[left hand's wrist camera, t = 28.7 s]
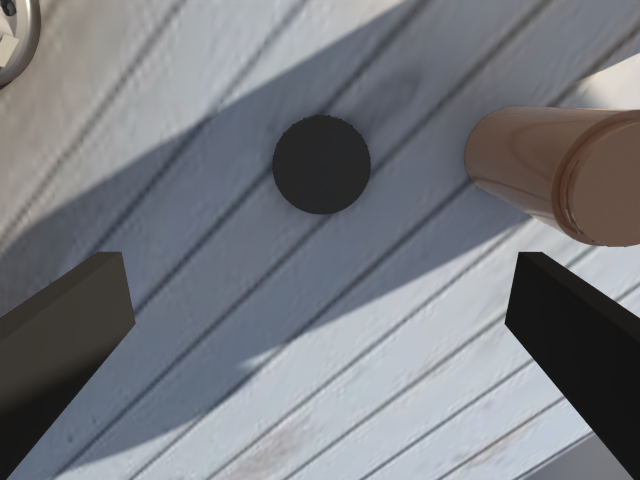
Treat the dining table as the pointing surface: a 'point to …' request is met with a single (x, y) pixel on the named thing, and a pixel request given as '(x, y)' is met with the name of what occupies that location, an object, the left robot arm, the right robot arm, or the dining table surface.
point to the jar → (564, 168)
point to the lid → (321, 165)
